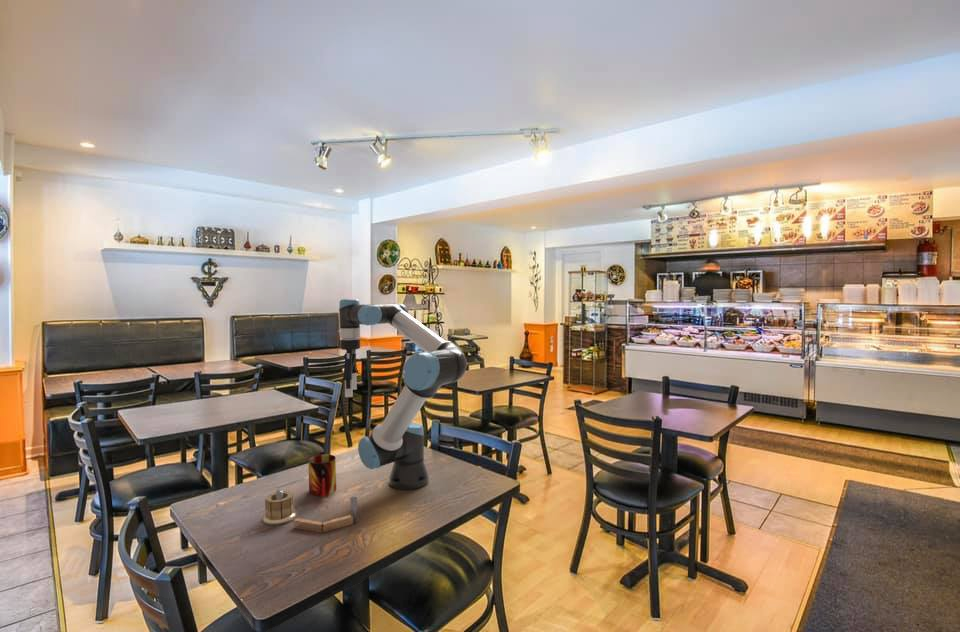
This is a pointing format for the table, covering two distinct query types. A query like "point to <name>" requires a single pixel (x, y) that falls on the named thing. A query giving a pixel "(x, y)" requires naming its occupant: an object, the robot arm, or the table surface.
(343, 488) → the table surface
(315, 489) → the mug
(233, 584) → the table surface
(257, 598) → the table surface
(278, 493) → the peg stand
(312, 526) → the bent hammer
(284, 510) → the oak ring
